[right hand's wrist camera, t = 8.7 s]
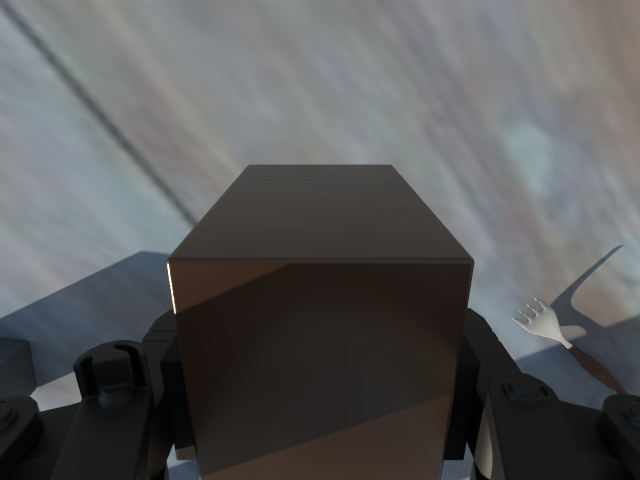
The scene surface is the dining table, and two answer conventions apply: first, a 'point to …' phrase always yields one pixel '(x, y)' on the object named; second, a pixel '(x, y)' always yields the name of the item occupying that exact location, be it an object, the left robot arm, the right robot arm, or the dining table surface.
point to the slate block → (16, 369)
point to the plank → (320, 326)
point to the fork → (565, 342)
